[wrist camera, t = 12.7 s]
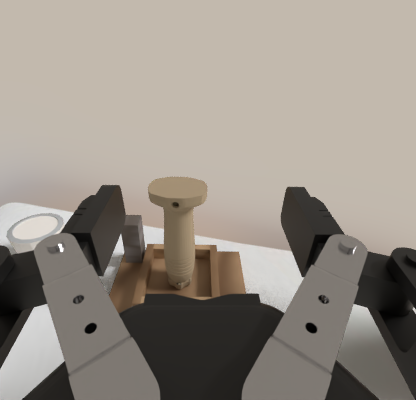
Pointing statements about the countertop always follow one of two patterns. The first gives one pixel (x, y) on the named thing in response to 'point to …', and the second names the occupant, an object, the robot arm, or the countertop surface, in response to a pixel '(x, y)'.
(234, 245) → the countertop surface
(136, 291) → the seat board
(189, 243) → the handle
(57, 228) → the white faceted cup
